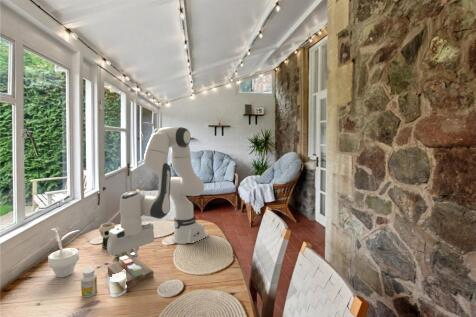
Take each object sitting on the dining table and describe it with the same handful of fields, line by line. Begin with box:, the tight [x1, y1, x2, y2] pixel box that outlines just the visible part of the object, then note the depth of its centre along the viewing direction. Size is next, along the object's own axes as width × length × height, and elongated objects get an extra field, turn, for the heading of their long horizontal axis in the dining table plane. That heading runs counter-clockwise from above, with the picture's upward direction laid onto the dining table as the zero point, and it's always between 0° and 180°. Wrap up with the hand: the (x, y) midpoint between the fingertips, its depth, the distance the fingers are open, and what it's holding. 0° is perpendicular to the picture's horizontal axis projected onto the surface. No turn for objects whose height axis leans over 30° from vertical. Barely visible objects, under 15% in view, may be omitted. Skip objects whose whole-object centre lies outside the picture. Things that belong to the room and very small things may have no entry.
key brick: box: [123, 258, 133, 270], centre depth 117 cm, size 3×3×3 cm
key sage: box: [131, 265, 142, 278], centre depth 110 cm, size 3×3×3 cm
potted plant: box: [47, 225, 81, 278], centre depth 115 cm, size 13×12×25 cm
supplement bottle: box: [80, 267, 98, 298], centre depth 101 cm, size 5×5×10 cm
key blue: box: [127, 264, 137, 274], centre depth 114 cm, size 3×3×3 cm
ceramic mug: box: [114, 249, 135, 259], centre depth 133 cm, size 11×8×8 cm
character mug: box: [98, 222, 116, 249], centre depth 144 cm, size 11×7×13 cm, turn 78°
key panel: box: [107, 257, 154, 289], centre depth 115 cm, size 13×19×3 cm
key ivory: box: [118, 256, 130, 266], centre depth 120 cm, size 3×3×3 cm
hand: (132, 257), depth 114 cm, fingers closed
